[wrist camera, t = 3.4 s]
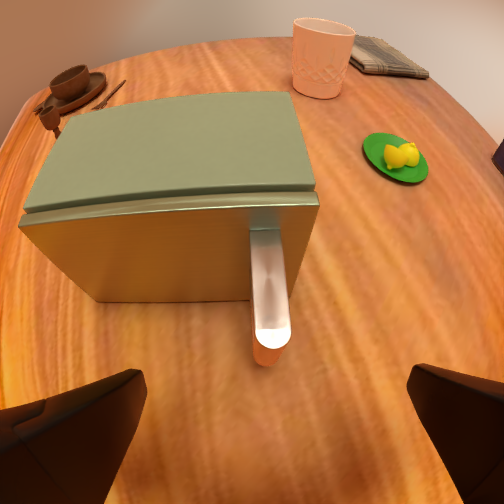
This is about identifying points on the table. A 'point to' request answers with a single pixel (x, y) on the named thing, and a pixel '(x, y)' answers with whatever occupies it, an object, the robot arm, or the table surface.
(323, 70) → the orange cup
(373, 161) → the green plate with lemon
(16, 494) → the robot arm
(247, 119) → the cupboard
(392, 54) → the dish towel
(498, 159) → the flask
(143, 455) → the table surface
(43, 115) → the place setting
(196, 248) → the cupboard door
